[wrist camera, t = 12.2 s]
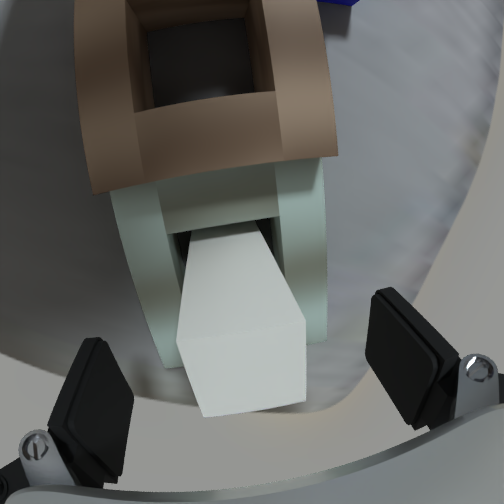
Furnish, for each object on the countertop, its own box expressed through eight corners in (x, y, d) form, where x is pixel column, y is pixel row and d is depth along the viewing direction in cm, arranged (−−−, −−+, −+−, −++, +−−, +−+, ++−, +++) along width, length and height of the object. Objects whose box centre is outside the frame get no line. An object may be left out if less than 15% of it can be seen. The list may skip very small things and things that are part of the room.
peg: (192, 229, 17) (176, 341, 8) (254, 220, 17) (305, 320, 8) (203, 285, 18) (203, 417, 9) (260, 276, 19) (305, 400, 9)
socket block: (107, 5, 11) (77, -30, 6) (277, -20, 12) (300, -62, 7) (169, 339, 20) (161, 392, 15) (312, 314, 20) (337, 361, 16)
